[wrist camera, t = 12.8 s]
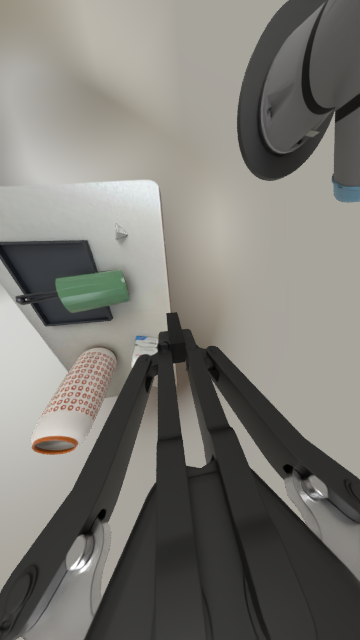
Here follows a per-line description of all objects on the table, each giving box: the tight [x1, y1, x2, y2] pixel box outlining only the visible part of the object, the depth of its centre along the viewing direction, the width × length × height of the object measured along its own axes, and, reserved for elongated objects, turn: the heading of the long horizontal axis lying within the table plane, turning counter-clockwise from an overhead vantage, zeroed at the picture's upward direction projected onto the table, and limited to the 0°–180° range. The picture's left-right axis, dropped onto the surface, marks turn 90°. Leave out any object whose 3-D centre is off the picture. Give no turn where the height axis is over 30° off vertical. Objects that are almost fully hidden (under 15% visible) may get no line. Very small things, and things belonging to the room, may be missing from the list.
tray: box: [0, 240, 113, 326], centre depth 37 cm, size 23×20×2 cm
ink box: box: [131, 336, 158, 367], centre depth 47 cm, size 9×5×12 cm, turn 75°
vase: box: [31, 347, 117, 455], centre depth 41 cm, size 13×13×28 cm
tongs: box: [16, 290, 60, 305], centre depth 35 cm, size 2×11×21 cm
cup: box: [55, 270, 130, 313], centre depth 34 cm, size 9×9×14 cm
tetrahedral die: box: [116, 224, 128, 239], centre depth 33 cm, size 4×3×3 cm
